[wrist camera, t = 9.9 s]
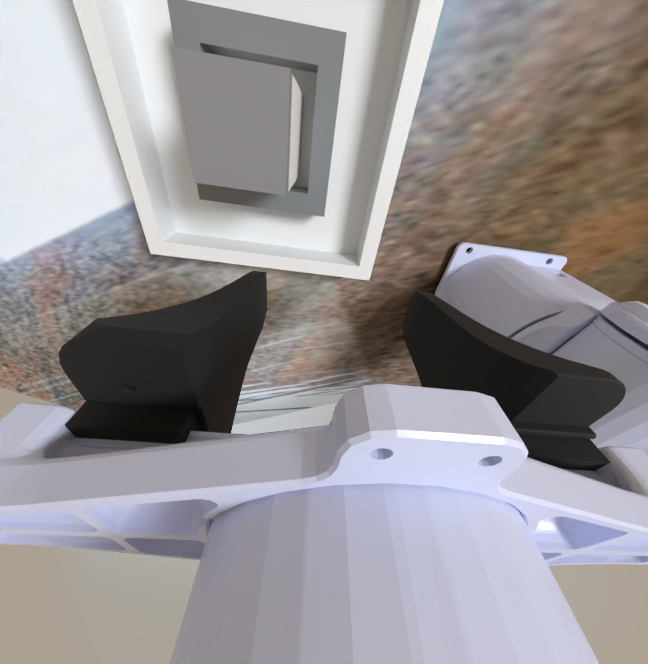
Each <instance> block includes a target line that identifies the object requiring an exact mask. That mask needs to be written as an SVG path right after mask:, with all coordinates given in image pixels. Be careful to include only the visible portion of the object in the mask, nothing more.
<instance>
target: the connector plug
mask: <svg viewBox="0 0 648 664" xmlns="http://www.w3.org/2000/svg"><path fill="white" fill-rule="evenodd" d="M171 49H172V55H173V61H174V67H175V73H176V79H177V84H178V90H179V96H180V102H181V108H182V114H183V120H184V126H185V132H186V138H187V144H188V150H189V156H190V162H191V167H192V173H193V179H194V183H201V184H208V185H215V186H222V187H229V188H236V189H242V190H249V191H256V192H263V193H270V194H277V195H284V196H286V195H287V193H288V192H289V190H290V189H291V187H292V186H293V184H294V183H295V181H296V180H297V178H298V177H299V161H300V143H301V126H302V108H303V94H302V92H301V90H300V88H299V86H298V84H297V82H296V80H295V78H294V76H293V74H292V72H291V70H290V68H285V67H280V66H274V65H269V64H263V63H258V62H253V61H247V60H242V59H236V58H231V57H226V56H220V55H215V54H209V53H204V52H199V51H193V50H188V49H182V48H177V47H171Z"/></svg>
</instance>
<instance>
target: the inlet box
mask: <svg viewBox="0 0 648 664" xmlns="http://www.w3.org/2000/svg"><path fill="white" fill-rule="evenodd" d="M72 1H73V4H74V8H75V11H76V14H77V17H78V20H79V24H80V27H81V30H82V33H83V37H84V40H85V43H86V46H87V50H88V53H89V56H90V59H91V62H92V66H93V69H94V72H95V75H96V79H97V82H98V85H99V88H100V92H101V95H102V98H103V101H104V105H105V108H106V111H107V114H108V117H109V121H110V124H111V127H112V130H113V134H114V137H115V140H116V143H117V147H118V150H119V153H120V156H121V160H122V163H123V166H124V169H125V172H126V176H127V179H128V182H129V185H130V189H131V192H132V195H133V198H134V202H135V205H136V208H137V211H138V215H139V218H140V221H141V224H142V227H143V231H144V234H145V237H146V240H147V244H148V247H149V250H150V253H151V254H157V255H165V256H173V257H181V258H190V259H198V260H206V261H214V262H222V263H231V264H239V265H247V266H255V267H263V268H272V269H280V270H288V271H296V272H304V273H313V274H321V275H329V276H337V277H345V278H354V279H362V280H369V279H370V276H371V272H372V268H373V264H374V261H375V257H376V253H377V249H378V246H379V242H380V238H381V234H382V231H383V227H384V223H385V219H386V216H387V212H388V208H389V204H390V201H391V197H392V193H393V189H394V186H395V182H396V178H397V174H398V171H399V167H400V163H401V159H402V156H403V152H404V148H405V144H406V141H407V137H408V133H409V129H410V126H411V122H412V118H413V114H414V111H415V107H416V103H417V99H418V96H419V92H420V88H421V84H422V80H423V77H424V73H425V69H426V65H427V62H428V58H429V54H430V50H431V47H432V43H433V39H434V35H435V32H436V28H437V24H438V20H439V17H440V13H441V9H442V5H443V2H444V0H72ZM171 47H177V48H182V49H188V50H193V51H199V52H204V53H209V54H215V55H220V56H226V57H231V58H236V59H242V60H247V61H253V62H258V63H263V64H269V65H274V66H280V67H285V68H290V70H291V72H292V74H293V76H294V78H295V80H296V82H297V84H298V86H299V88H300V90H301V92H302V94H303V108H302V126H301V143H300V161H299V177H298V178H297V180H296V181H295V183H294V184H293V186H292V187H291V189H290V190H289V192H288V193H287V195H286V196H284V195H277V194H270V193H263V192H256V191H249V190H242V189H236V188H229V187H222V186H215V185H208V184H201V183H194V179H193V173H192V167H191V162H190V156H189V150H188V144H187V138H186V132H185V126H184V120H183V114H182V108H181V102H180V96H179V90H178V84H177V79H176V73H175V67H174V61H173V55H172V49H171Z"/></svg>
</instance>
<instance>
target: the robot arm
mask: <svg viewBox="0 0 648 664" xmlns="http://www.w3.org/2000/svg"><path fill="white" fill-rule="evenodd" d="M469 247H471V249H470V250H469V251H468V252H466V250H467V249H468V248H469ZM548 259H549V260H548ZM547 260H548V261H547ZM546 261H547V262H546ZM566 262H567V258H566V257H564V256H561V255H554V254H547V253H540V252H533V251H525V250H518V249H511V248H504V247H497V246H489V245H482V244H475V243H468V242H462V243H459V244H458V245H457V247H456V248H455V250H454V253H453V255H452V257H451V259H450V261H449V263H448V266H447V268H446V270H445V272H444V274H443V276H442V279H441V281H440V283H439V285H438V287H437V289H436V292H435V294H434V295H433V294H431V293H429V292H424V291H415V293H414V296H413V298H412V301H411V303H410V306H409V308H408V311H407V313H406V316H405V318H404V321H403V323H402V327H403V333H404V337H405V341H406V344H407V347H408V350H409V352H410V355H411V357H412V360H413V363H414V365H415V368H416V370H417V373H418V376H419V379H420V382H421V385H422V387H417V386H406V385H394V384H373V385H363V386H361V387H359V388H357V389H355V390H352V391H350V392H348V393H346V394H345V395H344V396H343V397H342V398H341V400H340V401H339V402H338V404H337V405H336V407H335V410H334V413H333V418H332V420H331V422H330V424H329V425H326V426H318V427H310V428H302V429H293V430H285V431H277V432H269V433H261V434H252V435H245V434H231V430H232V425H233V421H234V417H235V412H236V408H237V404H238V400H239V396H240V392H241V388H242V384H243V380H244V376H245V372H246V369H247V366H248V363H249V360H250V357H251V355H252V352H253V350H254V347H255V345H256V342H257V340H258V337H259V335H260V332H261V330H262V327H263V324H264V320H265V315H266V311H267V288H266V272H258V271H252V272H250V273H248V274H246V275H244V276H243V277H241V278H239V279H237V280H236V281H234V282H232V283H230V284H229V285H227V286H225V287H223V288H221V289H219V290H217V291H215V292H213V293H211V294H208V295H206V296H204V297H201V298H198V299H196V300H193V301H190V302H187V303H183V304H179V305H176V306H172V307H169V308H165V309H160V310H155V311H150V312H145V313H139V314H133V315H125V316H116V317H108V318H98V319H96V320H94V321H93V322H92V323H91V324H89V325H88V326H87V327H86V328H84V329H83V330H82V331H81V332H79V333H78V334H77V335H76V336H74V337H73V338H72V339H71V340H69V341H68V342H67V343H66V344H64V345H63V346H62V348H61V350H60V352H59V359H60V364H61V366H62V368H63V370H64V372H65V373H66V375H67V376H68V377H69V379H70V380H71V381H72V383H73V384H74V385H75V387H76V388H77V389H78V391H79V392H80V393H81V395H82V396H83V397H84V399H85V400H86V402H85V403H84V404H83V405H82V407H81V408H80V409H79V410H78V411H76V410H74V409H72V408H70V407H66V406H59V405H46V404H45V405H44V404H32V403H21V404H18V405H17V406H16V407H15V408H14V409H13V410H12V411H10V412H9V413H8V414H7V415H6V416H5V417H3V418H2V419H1V420H0V544H17V545H18V544H19V545H37V546H52V547H67V548H78V549H91V550H101V551H111V552H122V553H131V554H132V553H133V554H142V555H153V556H162V557H172V558H183V559H192V560H200V563H199V566H198V570H197V573H196V577H195V580H194V583H193V587H192V591H191V594H190V597H189V600H188V604H187V607H186V611H185V614H184V617H183V621H182V624H181V628H180V631H179V634H178V638H177V641H176V645H175V648H174V651H173V655H172V658H171V662H170V664H599V663H598V661H597V659H596V657H595V655H594V653H593V651H592V649H591V647H590V645H589V644H588V642H587V640H586V638H585V636H584V634H583V632H582V630H581V628H580V626H579V624H578V623H577V621H576V619H575V617H574V615H573V613H572V611H571V609H570V607H569V605H568V603H567V601H566V599H565V598H564V596H563V594H562V592H561V590H560V588H559V586H558V584H557V582H556V580H555V578H554V577H553V575H552V573H551V571H550V569H549V567H548V565H576V564H648V305H646V304H644V303H641V302H638V301H630V302H622V303H618V302H616V301H614V300H613V299H611V298H609V297H607V296H606V295H604V294H602V293H600V292H598V291H597V290H595V289H593V288H591V287H590V286H588V285H586V284H584V283H582V282H581V281H579V280H577V279H575V278H573V277H572V276H570V275H568V274H566V273H565V272H563V271H561V269H562V267H563V266H564V265H565V263H566Z"/></svg>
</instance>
